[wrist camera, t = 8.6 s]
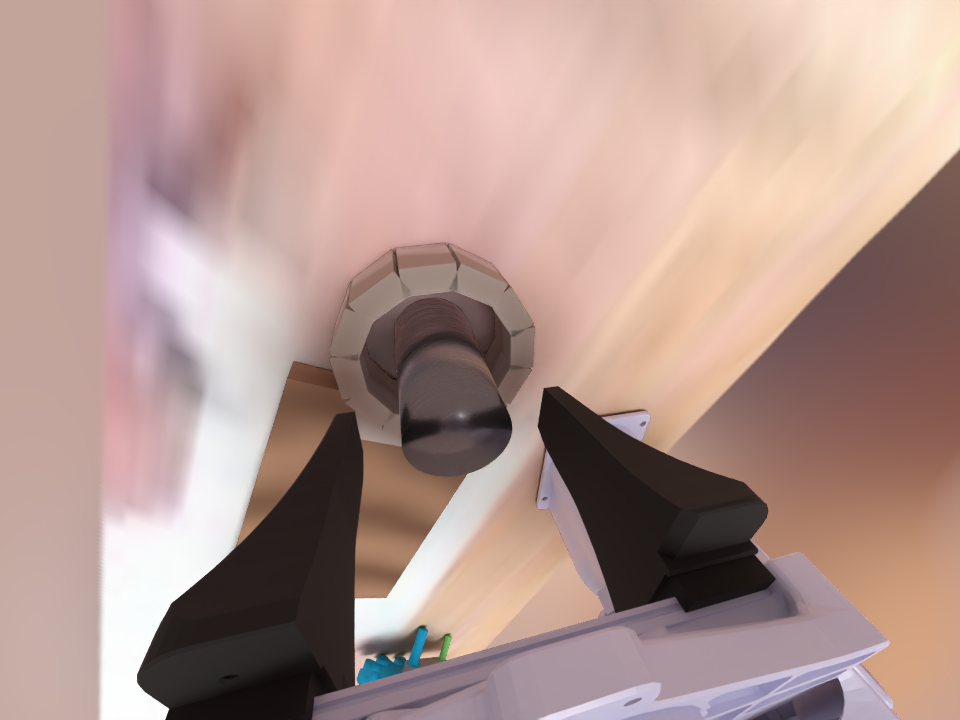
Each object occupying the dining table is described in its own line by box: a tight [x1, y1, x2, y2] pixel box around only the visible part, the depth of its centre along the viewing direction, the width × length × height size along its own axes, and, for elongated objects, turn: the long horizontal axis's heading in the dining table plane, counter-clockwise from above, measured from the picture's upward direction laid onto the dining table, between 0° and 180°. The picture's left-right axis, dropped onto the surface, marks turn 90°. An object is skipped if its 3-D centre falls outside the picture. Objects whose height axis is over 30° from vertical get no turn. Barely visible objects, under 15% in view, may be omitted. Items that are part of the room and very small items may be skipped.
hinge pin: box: [394, 298, 512, 477], centre depth 16 cm, size 4×4×8 cm
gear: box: [357, 627, 452, 685], centre depth 37 cm, size 11×6×10 cm
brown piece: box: [236, 243, 535, 598], centre depth 22 cm, size 29×12×3 cm, turn 153°
